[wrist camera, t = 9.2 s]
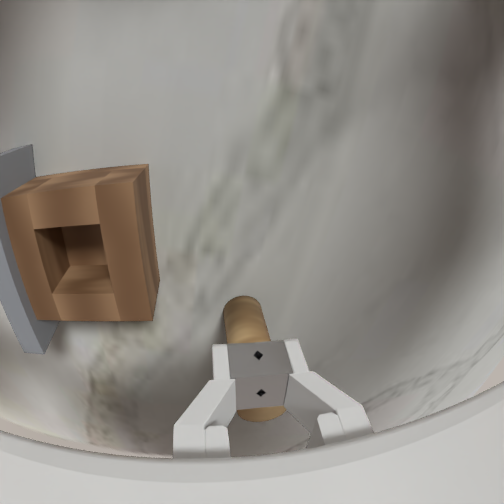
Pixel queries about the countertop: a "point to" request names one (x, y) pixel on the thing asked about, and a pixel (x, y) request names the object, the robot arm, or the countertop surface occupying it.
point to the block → (86, 244)
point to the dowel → (248, 331)
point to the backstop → (5, 267)
